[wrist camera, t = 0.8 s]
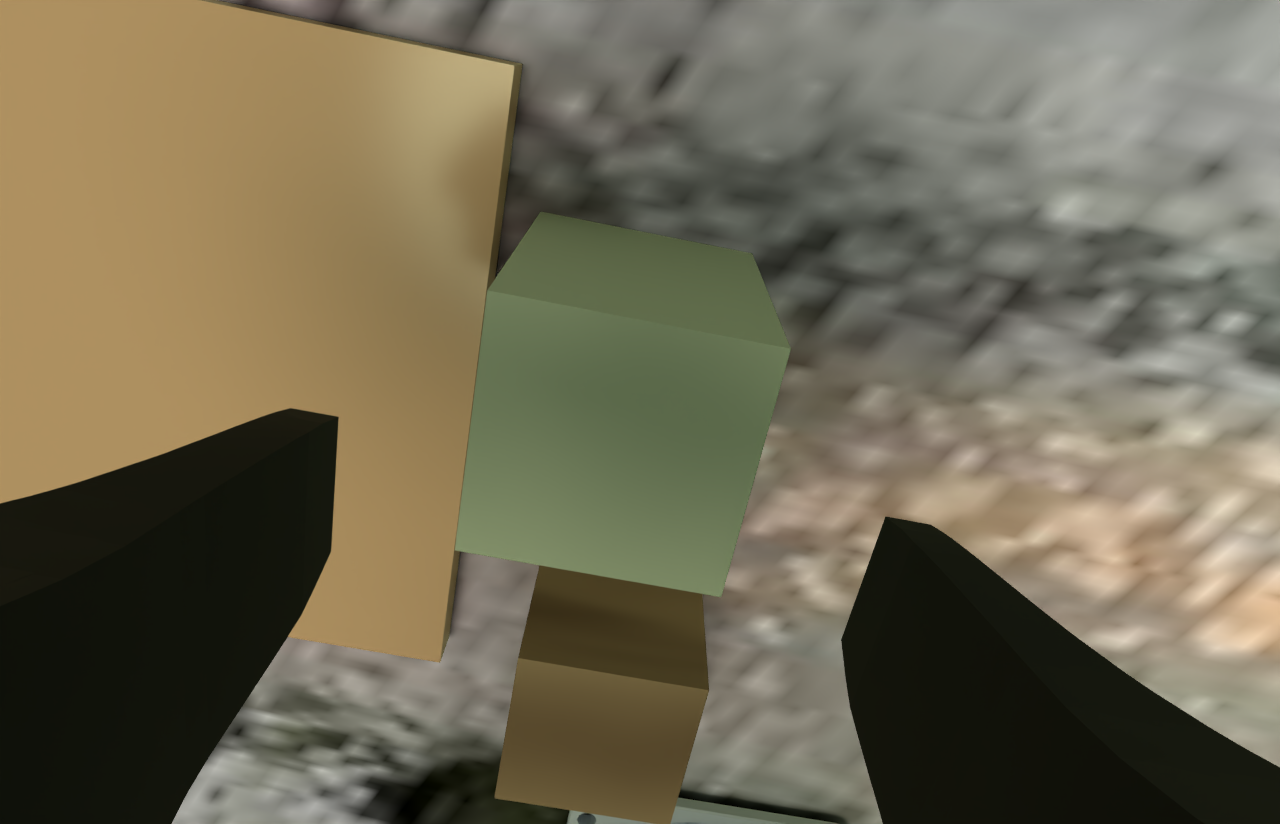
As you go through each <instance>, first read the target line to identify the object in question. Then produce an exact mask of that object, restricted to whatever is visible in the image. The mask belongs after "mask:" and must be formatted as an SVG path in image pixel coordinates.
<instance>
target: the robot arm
mask: <svg viewBox="0 0 1280 824" xmlns="http://www.w3.org/2000/svg"><path fill="white" fill-rule="evenodd" d="M338 420H339V417H337V416H332V415H326V414H321V413H315V412H310V411H304V410H299V409H293V408H289V409H285V410H281V411H277V412H274V413H271V414H268V415H265V416H262V417H259V418H257V419H254V420H251V421H248V422H246V423H243V424H240V425H238V426H235V427H232V428H230V429H227V430H225V431H222V432H219V433H217V434H214V435H212V436H209V437H206V438H204V439H201V440H198V441H196V442H193V443H190V444H188V445H185V446H182V447H180V448H177V449H174V450H172V451H169V452H167V453H164V454H161V455H158V456H155V457H152V458H149V459H146V460H143V461H140V462H137V463H134V464H131V465H128V466H125V467H122V468H119V469H116V470H113V471H110V472H107V473H104V474H101V475H98V476H95V477H93V478H90V479H87V480H84V481H81V482H77V483H74V484H71V485H67V486H64V487H60V488H57V489H53V490H50V491H46V492H43V493H39V494H35V495H32V496H28V497H24V498H20V499H16V500H12V501H8V502H4V503H0V824H171V823H172V821H173V819H174V817H175V816H176V814H177V812H178V810H179V808H180V806H181V804H182V802H183V800H184V798H185V796H186V794H187V793H188V791H189V789H190V787H191V786H192V784H193V782H194V781H195V779H196V777H197V776H198V774H199V772H200V771H201V769H202V767H203V766H204V764H205V762H206V761H207V759H208V757H209V756H210V754H211V753H212V751H213V750H214V748H215V747H216V745H217V744H218V742H219V741H220V739H221V738H222V736H223V735H224V733H225V732H226V730H227V728H228V727H229V725H230V724H231V722H232V721H233V719H234V718H235V716H236V715H237V713H238V712H239V710H240V709H241V707H242V706H243V704H244V703H245V701H246V700H247V698H248V697H249V695H250V694H251V692H252V691H253V689H254V688H255V686H256V684H257V683H258V681H259V680H260V678H261V677H262V675H263V674H264V672H265V671H266V669H267V668H268V666H269V665H270V663H271V662H272V660H273V659H274V657H275V656H276V654H277V652H278V651H279V649H280V648H281V646H282V645H283V643H284V642H285V640H286V639H287V637H288V635H289V634H290V632H291V631H292V629H293V628H294V626H295V624H296V623H297V621H298V620H299V618H300V617H301V615H302V613H303V611H304V609H305V607H306V605H307V603H308V601H309V599H310V596H311V594H312V592H313V590H314V588H315V586H316V584H317V582H318V580H319V577H320V575H321V573H322V571H323V568H324V566H325V564H326V562H327V560H328V557H329V555H330V553H331V547H332V529H333V511H334V492H335V474H336V456H337V438H338ZM841 641H842V650H843V659H844V667H845V676H846V683H847V689H848V696H849V703H850V708H851V712H852V716H853V720H854V723H855V727H856V731H857V734H858V738H859V741H860V745H861V749H862V752H863V756H864V759H865V763H866V766H867V770H868V773H869V777H870V780H871V784H872V787H873V790H874V794H875V797H876V801H877V804H878V808H879V811H880V815H881V818H882V822H883V824H1280V767H1278V766H1276V765H1274V764H1272V763H1271V762H1269V761H1267V760H1265V759H1263V758H1261V757H1260V756H1258V755H1256V754H1254V753H1252V752H1250V751H1249V750H1247V749H1245V748H1243V747H1242V746H1240V745H1238V744H1237V743H1235V742H1233V741H1231V740H1230V739H1228V738H1226V737H1225V736H1223V735H1221V734H1220V733H1218V732H1216V731H1214V730H1213V729H1211V728H1209V727H1208V726H1206V725H1205V724H1203V723H1201V722H1200V721H1198V720H1197V719H1195V718H1194V717H1192V716H1190V715H1189V714H1187V713H1186V712H1184V711H1183V710H1181V709H1179V708H1178V707H1176V706H1175V705H1173V704H1172V703H1170V702H1168V701H1167V700H1165V699H1164V698H1162V697H1161V696H1159V695H1157V694H1156V693H1154V692H1153V691H1151V690H1150V689H1148V688H1147V687H1145V686H1144V685H1142V684H1141V683H1139V682H1138V681H1136V680H1135V679H1134V678H1132V677H1131V676H1129V675H1128V674H1126V673H1125V672H1123V671H1122V670H1121V669H1119V668H1118V667H1116V666H1115V665H1114V664H1112V663H1111V662H1110V661H1108V660H1107V659H1106V658H1104V657H1103V656H1101V655H1100V654H1099V653H1097V652H1096V651H1095V650H1093V649H1092V648H1090V647H1089V646H1088V645H1086V644H1085V643H1084V642H1082V641H1081V640H1079V639H1078V638H1077V637H1076V636H1074V635H1073V634H1072V633H1070V632H1069V631H1068V630H1066V629H1065V628H1064V627H1063V626H1061V625H1060V624H1059V623H1057V622H1056V621H1055V620H1053V619H1052V618H1051V617H1050V616H1048V615H1047V614H1046V613H1045V612H1043V611H1042V610H1041V609H1039V608H1038V607H1037V606H1036V605H1034V604H1033V603H1032V602H1031V601H1030V600H1028V599H1027V598H1026V597H1025V596H1023V595H1022V594H1021V593H1020V592H1018V591H1017V590H1016V589H1015V588H1013V587H1012V586H1011V585H1010V584H1008V583H1007V582H1006V581H1005V580H1004V579H1002V578H1001V577H1000V576H999V575H997V574H996V573H995V572H994V571H992V570H991V569H990V568H989V567H987V566H986V565H985V564H984V563H983V562H981V561H980V560H979V559H978V558H976V557H975V556H974V555H973V554H971V553H970V552H969V551H967V550H966V549H965V548H963V547H962V546H961V545H960V544H958V543H957V542H956V541H954V540H953V539H952V538H950V537H949V536H947V535H946V534H944V533H943V532H942V531H940V530H938V529H937V528H935V527H933V526H932V525H929V524H924V523H918V522H913V521H907V520H902V519H896V518H891V517H885V520H884V523H883V525H882V528H881V531H880V534H879V537H878V539H877V542H876V545H875V548H874V550H873V553H872V556H871V559H870V561H869V564H868V567H867V570H866V573H865V575H864V578H863V581H862V584H861V586H860V589H859V592H858V595H857V598H856V600H855V603H854V606H853V609H852V611H851V614H850V617H849V620H848V623H847V625H846V628H845V631H844V634H843V636H842V639H841ZM583 813H584V812H578V811H572V810H569V815H568V819H567V824H653V823H647V822H641V821H634V820H628V819H622V818H616V817H609V816H603V815H597V814H592V815H585V814H583ZM589 814H591V813H589ZM670 824H838V823H833V822H827V821H820V820H814V819H808V818H802V817H796V816H790V815H783V814H777V813H771V812H765V811H759V810H752V809H746V808H740V807H734V806H728V805H722V804H715V803H709V802H703V801H697V800H691V799H684V798H678V799H677V803H676V806H675V810H674V813H673V816H672V820H671V823H670Z"/></svg>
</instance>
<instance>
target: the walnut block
mask: <svg viewBox="0 0 1280 824" xmlns="http://www.w3.org/2000/svg"><path fill="white" fill-rule="evenodd" d="M708 692H709V683H708V669H707V655H706V641H705V627H704V613H703V599H702V594H700V593H695V592H689V591H683V590H678V589H672V588H666V587H660V586H655V585H649V584H643V583H638V582H632V581H626V580H621V579H615V578H609V577H604V576H598V575H592V574H586V573H581V572H575V571H569V570H564V569H558V568H552V567H547V566H541V565H540V566H539V571H538V575H537V579H536V584H535V588H534V592H533V597H532V601H531V605H530V610H529V614H528V618H527V623H526V627H525V631H524V636H523V640H522V644H521V649H520V653H519V657H518V663H517V669H516V675H515V680H514V686H513V692H512V698H511V704H510V710H509V716H508V721H507V727H506V733H505V739H504V745H503V751H502V757H501V762H500V768H499V774H498V780H497V786H496V792H495V798H497V799H503V800H509V801H516V802H522V803H528V804H534V805H541V806H547V807H553V808H559V809H566V810H572V811H578V812H584V813H591V814H597V815H603V816H609V817H616V818H622V819H628V820H634V821H641V822H647V823H653V824H670V823H671V820H672V816H673V813H674V810H675V806H676V803H677V799H678V796H679V792H680V789H681V785H682V782H683V778H684V775H685V772H686V768H687V765H688V761H689V758H690V754H691V751H692V747H693V744H694V740H695V737H696V734H697V730H698V727H699V723H700V720H701V716H702V713H703V709H704V706H705V702H706V699H707V696H708Z"/></svg>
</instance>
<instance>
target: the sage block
mask: <svg viewBox="0 0 1280 824" xmlns="http://www.w3.org/2000/svg"><path fill="white" fill-rule="evenodd" d="M790 350H791V348H790V345H789V343H788V341H787V338H786V336H785V333H784V331H783V328H782V326H781V323H780V321H779V318H778V316H777V313H776V311H775V309H774V306H773V304H772V301H771V299H770V296H769V294H768V291H767V289H766V286H765V284H764V281H763V279H762V277H761V274H760V272H759V269H758V267H757V264H756V262H755V259H754V257H753V254H752V253H747V252H742V251H737V250H732V249H727V248H722V247H717V246H712V245H707V244H702V243H697V242H692V241H687V240H682V239H677V238H672V237H666V236H661V235H656V234H651V233H646V232H641V231H636V230H631V229H626V228H621V227H616V226H611V225H606V224H601V223H596V222H591V221H586V220H581V219H576V218H571V217H566V216H561V215H556V214H551V213H546V212H540V213H539V215H538V216H537V218H536V219H535V221H534V222H533V224H532V225H531V227H530V228H529V230H528V231H527V233H526V234H525V235H524V237H523V238H522V240H521V241H520V243H519V244H518V246H517V247H516V249H515V250H514V252H513V253H512V255H511V256H510V258H509V259H508V261H507V262H506V263H505V265H504V266H503V268H502V269H501V271H500V272H499V274H498V275H497V277H496V278H495V280H494V281H493V283H492V284H491V286H490V287H489V289H488V290H487V297H486V305H485V313H484V321H483V329H482V337H481V345H480V353H479V361H478V369H477V377H476V385H475V393H474V401H473V409H472V417H471V425H470V433H469V441H468V449H467V457H466V465H465V473H464V481H463V489H462V496H461V504H460V512H459V520H458V528H457V536H456V544H455V550H456V551H461V552H467V553H473V554H478V555H484V556H490V557H495V558H501V559H507V560H512V561H518V562H524V563H530V564H535V565H541V566H547V567H552V568H558V569H564V570H569V571H575V572H581V573H586V574H592V575H598V576H604V577H609V578H615V579H621V580H626V581H632V582H638V583H643V584H649V585H655V586H660V587H666V588H672V589H678V590H683V591H689V592H695V593H700V594H706V595H712V596H717V597H721V596H722V592H723V589H724V585H725V582H726V578H727V574H728V571H729V567H730V564H731V560H732V557H733V553H734V550H735V546H736V542H737V539H738V535H739V532H740V528H741V525H742V521H743V518H744V514H745V510H746V507H747V503H748V500H749V496H750V493H751V489H752V486H753V482H754V478H755V475H756V471H757V468H758V464H759V461H760V457H761V454H762V450H763V446H764V443H765V439H766V436H767V432H768V429H769V425H770V421H771V418H772V414H773V411H774V407H775V404H776V400H777V397H778V393H779V389H780V386H781V382H782V379H783V375H784V372H785V368H786V365H787V361H788V357H789V354H790Z"/></svg>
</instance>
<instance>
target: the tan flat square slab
mask: <svg viewBox="0 0 1280 824" xmlns="http://www.w3.org/2000/svg"><path fill="white" fill-rule="evenodd" d="M522 65H523V64H521V63H516V62H511V61H507V60H502V59H497V58H492V57H487V56H483V55H478V54H473V53H468V52H463V51H459V50H454V49H449V48H444V47H439V46H435V45H430V44H425V43H420V42H415V41H411V40H406V39H401V38H396V37H391V36H386V35H382V34H377V33H372V32H367V31H362V30H358V29H353V28H348V27H343V26H338V25H334V24H329V23H324V22H319V21H314V20H310V19H305V18H300V17H295V16H290V15H286V14H281V13H276V12H271V11H266V10H262V9H257V8H252V7H247V6H242V5H238V4H233V3H228V2H223V1H218V0H0V503H4V502H8V501H12V500H16V499H20V498H24V497H28V496H32V495H35V494H39V493H43V492H46V491H50V490H53V489H57V488H60V487H64V486H67V485H71V484H74V483H77V482H81V481H84V480H87V479H90V478H93V477H95V476H98V475H101V474H104V473H107V472H110V471H113V470H116V469H119V468H122V467H125V466H128V465H131V464H134V463H137V462H140V461H143V460H146V459H149V458H152V457H155V456H158V455H161V454H164V453H167V452H169V451H172V450H174V449H177V448H180V447H182V446H185V445H188V444H190V443H193V442H196V441H198V440H201V439H204V438H206V437H209V436H212V435H214V434H217V433H219V432H222V431H225V430H227V429H230V428H232V427H235V426H238V425H240V424H243V423H246V422H248V421H251V420H254V419H257V418H259V417H262V416H265V415H268V414H271V413H274V412H277V411H281V410H285V409H289V408H293V409H299V410H304V411H310V412H315V413H321V414H326V415H332V416H337V417H339V420H338V438H337V456H336V474H335V492H334V511H333V529H332V547H331V553H330V555H329V557H328V560H327V562H326V564H325V566H324V568H323V571H322V573H321V575H320V577H319V580H318V582H317V584H316V586H315V588H314V590H313V592H312V594H311V596H310V599H309V601H308V603H307V605H306V607H305V609H304V611H303V613H302V615H301V617H300V618H299V620H298V621H297V623H296V624H295V626H294V628H293V629H292V631H291V632H290V634H289V635H288V637H291V638H297V639H303V640H309V641H315V642H321V643H327V644H333V645H339V646H345V647H351V648H357V649H363V650H369V651H375V652H381V653H387V654H392V655H398V656H404V657H410V658H416V659H422V660H428V661H434V662H440V661H441V658H442V656H443V653H444V650H445V647H446V644H447V641H448V639H449V634H450V626H451V619H452V611H453V603H454V595H455V587H456V580H457V572H458V564H459V556H460V551H456V550H455V544H456V536H457V528H458V520H459V512H460V504H461V496H462V489H463V481H464V473H465V465H466V457H467V449H468V441H469V433H470V425H471V417H472V409H473V401H474V393H475V385H476V377H477V369H478V361H479V353H480V345H481V337H482V329H483V321H484V313H485V305H486V297H487V290H488V289H489V287H490V286H491V284H492V283H493V281H494V280H495V275H496V267H497V260H498V252H499V244H500V236H501V228H502V221H503V213H504V205H505V197H506V189H507V182H508V174H509V166H510V158H511V150H512V143H513V135H514V127H515V119H516V111H517V104H518V96H519V88H520V80H521V72H522Z"/></svg>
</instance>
